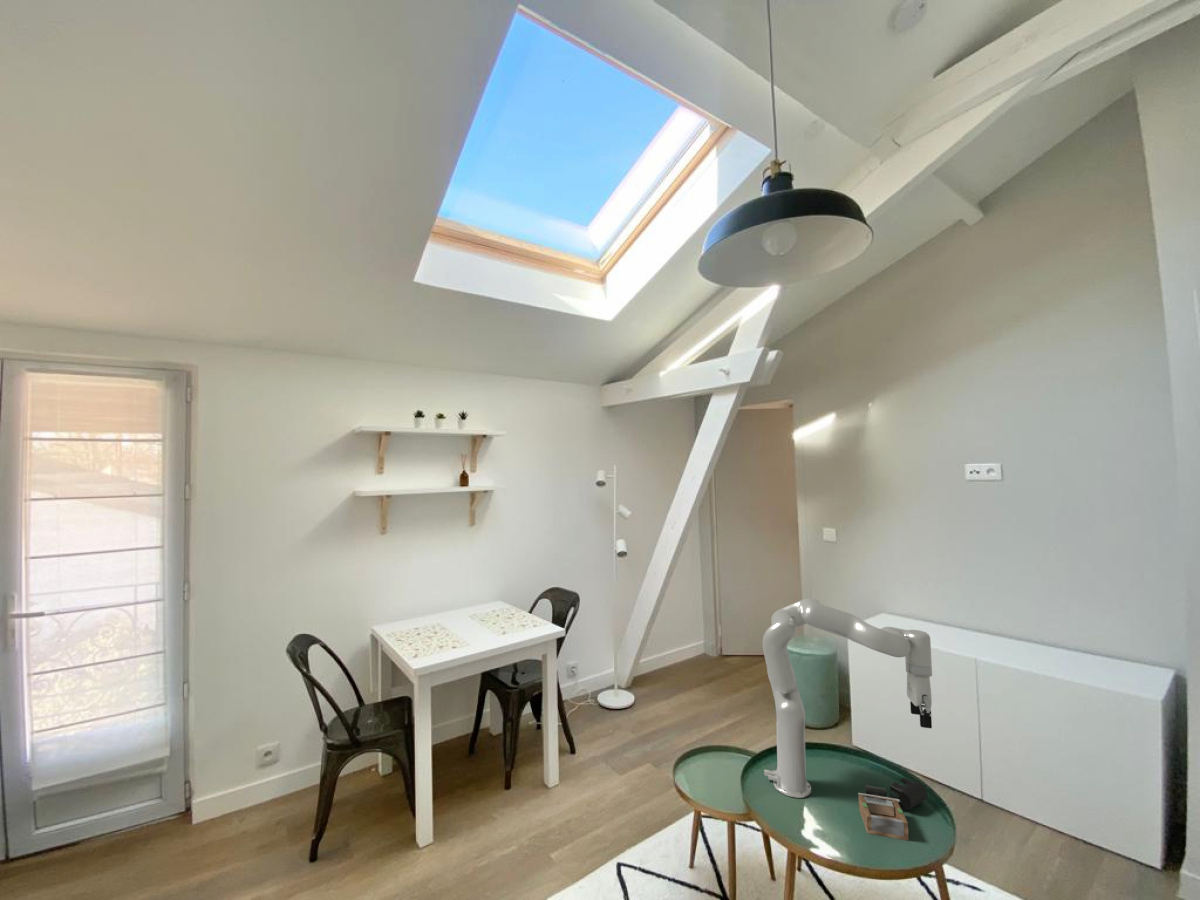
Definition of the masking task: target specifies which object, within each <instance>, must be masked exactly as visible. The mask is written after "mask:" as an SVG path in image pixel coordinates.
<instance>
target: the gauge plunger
mask: <svg viewBox="0 0 1200 900" xmlns="http://www.w3.org/2000/svg"><path fill="white" fill-rule="evenodd" d="M864 791H865V792H864V793H861V792H858V793H857V794H858V796H859V795H862V796H864V799H865V802H866V804H867V806H868V810H869V812H870V813H876V814H882V815H888V816H894V806H893V804H892V801H899V802H900V800H899V799H893V798H890V797H888V796H887V790H886V788H885V787H880V786H873V785H868V784H865V785H864Z"/></svg>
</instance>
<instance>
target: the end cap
mask: <svg viewBox="0 0 1200 900" xmlns="http://www.w3.org/2000/svg"><path fill="white" fill-rule="evenodd" d="M899 781H900V782H901V783H903V784H905V785H902V784H899V782H896V781H895V782H894V781H893V782H892V783H890V785H889V791H891V792H893V793H894V794H896V795H894V794H892V793H890V794H889V795H890V796H889V798H893V799H899V800H900V802H899V801H897V802H898V804H899V806H900V808H901V809H902V811H905V812H906V811H908V810H911V809H912V808H914V807H916V806H918V805H919V804H922V803H923V802H924V801H927V798H928V792H927V789H926V787H925V786H924V784H922V783H921V782H920V781H918V780H917V781H915V782H914V781H913V780H911V779H908V778H906V777H902V778H899Z"/></svg>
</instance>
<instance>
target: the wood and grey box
mask: <svg viewBox="0 0 1200 900" xmlns="http://www.w3.org/2000/svg"><path fill="white" fill-rule="evenodd" d="M864 797H865V796H862V795H858V809H859V813H860V815H861V818H862V821H863V824H864V827H865V830H866V832H867V834H870V835H875V836H881V837H886V838H892V839H898V840H904V841H909V840H910V839H909V822H908V821H907V818H906V816H905V814H904V812H903V811H904V810H902V809H901V808H900V806H899V804H898V802H897V801H892V800H891V801H892V804H893V806H894V816H888V815H882V814H876V813H870V812H869V810H868V806H867V804H866V802H865V799H864Z"/></svg>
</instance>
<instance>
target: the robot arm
mask: <svg viewBox="0 0 1200 900" xmlns="http://www.w3.org/2000/svg"><path fill="white" fill-rule="evenodd" d="M771 615H772V616H771V619H770V624H771V625H770V626H768V628H767V629H766V630H765V632H764V634H763V636H762V637H763V638H762V644H761V646H762V651H763V654H764V660H765V665H766V671H767V676H768V680H769V683H770V686H771V691H772V695H773V698H774V704H775V705H774V706H775V714H776V723H775V724H776V725H775V726H776V756H777V757H776V759H777V760H776V762H777V763H776V765H777V767H775V768H776V769H774V770H770V769H763V770H764V771H763V772H764V776H765V777H767V779H768V780H771V781H772V782H773V783H772V784H773V786H774V788H775V789H776V790H777V791H778V792H780V793H781V794H783V795H785V796H787V797H791V798H796V799H797V798H798V799H799V798H800V799H801V798H802V799H803V798H805V797H808V796H810V795H811V793H812V786H811V784H810V782H808V780H807V769H806V768H807V767H806V766H807V765H806V763H807V762H806V761H807V760H806V713H805V707H804V703H803V701H802V698H801V695H800V690H799V686H798V683H797V679H796V674H795V669H794V667H793V665H792V663H791V659H790V655H789V650H788V645H789V643H790V642H791V641H792V640H793V639H794V638H795V637H796V635H797V632H798V628H800V627H802V626H805V625H808V626H811V627H812V628H815V629H819V630H821V631H824V632H827V633H831V634H834V635H837V636H839V637H843V638H845V639H848V640H850V641H852V642H854V643H856V644H859V645H861V646H864V647H866V648H868V649H871V650H873V651H876V652H878V653H882V654H884V655H888V656H890V657H894V658H904V659H905V671H906V674H907V675H906V694H907V697H908V699H909V700H910V701H909V702H910V703H909V704H910V714H912V715H918V716H919V727H920V728H923V729H932V727H933V724H932V721H933V719H932V704H933V701H932V700H933V699H932V688H931V680H930V677H932V676H933V666H932V663H933V662H932V646H931V637H930V635H929V633H928V632H925V631H923V630H919V629H903V628H898V627H892V626H884V627H881V628H878V627H876V626H874V625H872V624H869V623H868V622H866V621H865V620H862V619H861V618H860V617H858V616H856V615H854V614H853V613H849V612H847V611H842V610H841V609H837V608H833V607H830V606H827V605H825V604H822V603H821V602H820V601H818V600H817V599H815V598H813V597H809V598H804V599H801V600H799V601H796V602H793V603H791V604H789V605H786V606H784V607H782V608H779V609H778V610H776V611H774V613H773V614H771Z"/></svg>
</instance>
